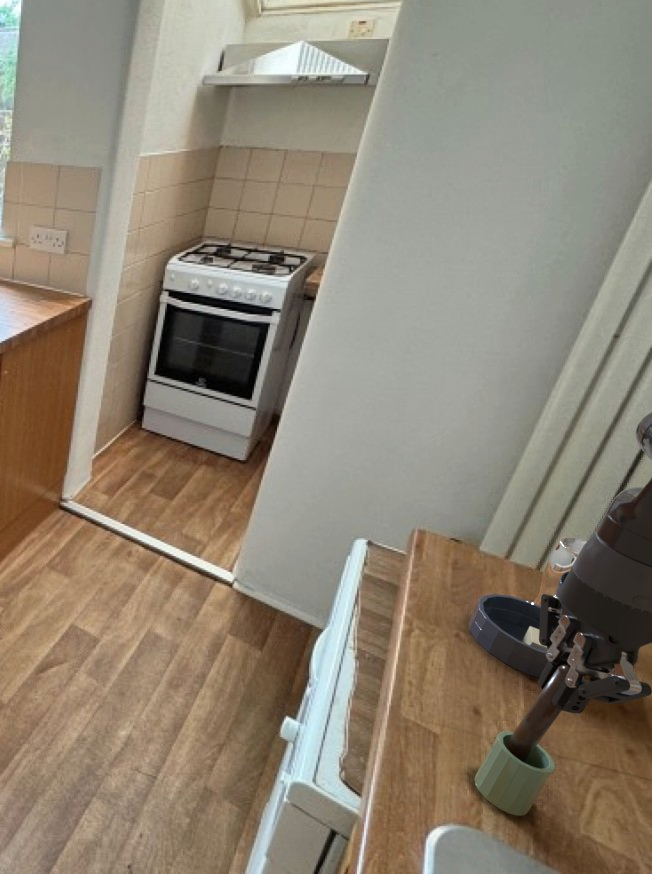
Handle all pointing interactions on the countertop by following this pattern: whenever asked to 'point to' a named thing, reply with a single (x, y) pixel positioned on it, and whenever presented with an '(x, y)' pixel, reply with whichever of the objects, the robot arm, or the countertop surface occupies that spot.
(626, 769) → the countertop surface
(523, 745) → the stir stick
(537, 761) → the pot
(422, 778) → the countertop surface
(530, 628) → the block
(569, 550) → the beer glass
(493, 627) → the bowl
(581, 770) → the countertop surface
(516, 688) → the countertop surface
